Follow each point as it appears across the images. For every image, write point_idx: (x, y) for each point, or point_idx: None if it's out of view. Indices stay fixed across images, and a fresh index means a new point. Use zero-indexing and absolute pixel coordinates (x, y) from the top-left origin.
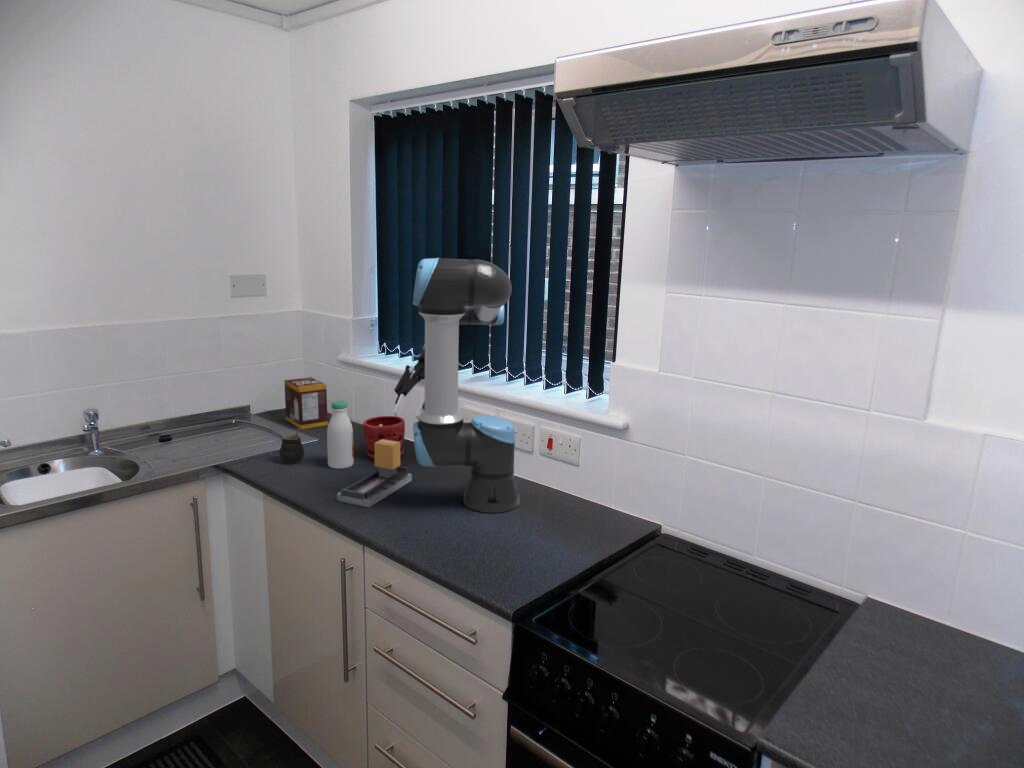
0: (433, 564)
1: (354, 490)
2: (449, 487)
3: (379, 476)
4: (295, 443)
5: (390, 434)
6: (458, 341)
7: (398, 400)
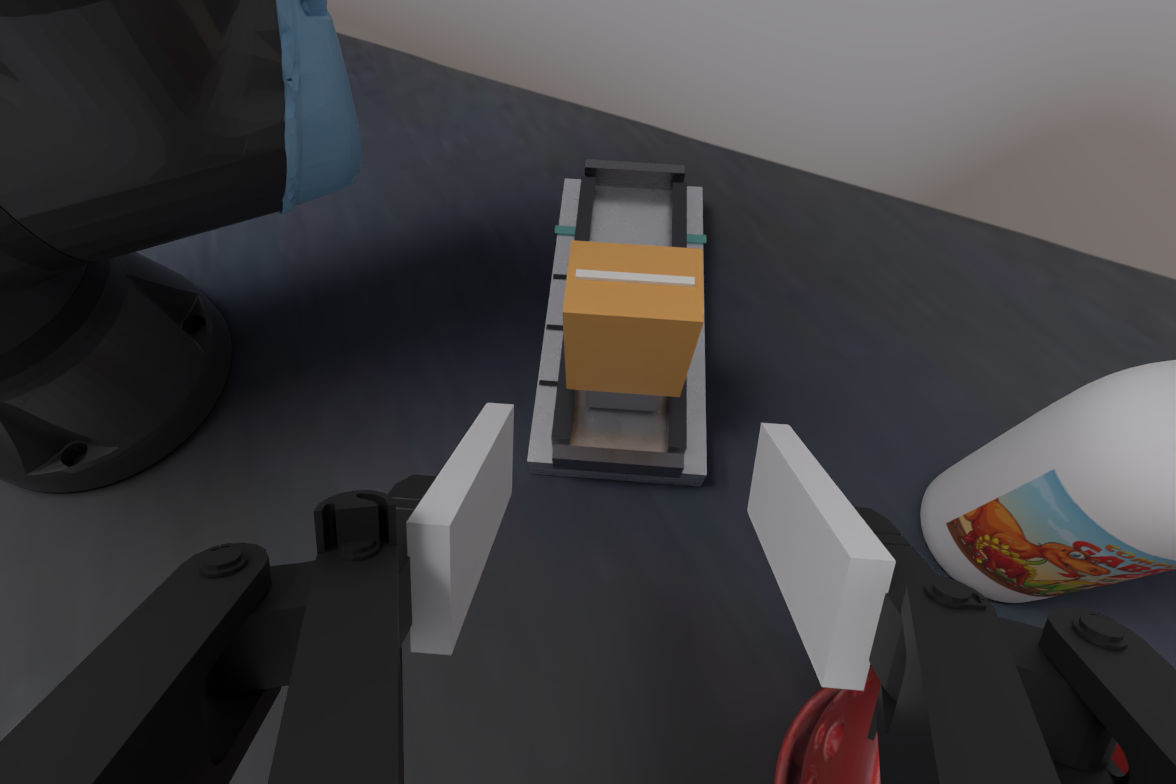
0: None
1: (663, 226)
2: (324, 461)
3: None
4: None
5: (858, 697)
6: None
7: (837, 494)
